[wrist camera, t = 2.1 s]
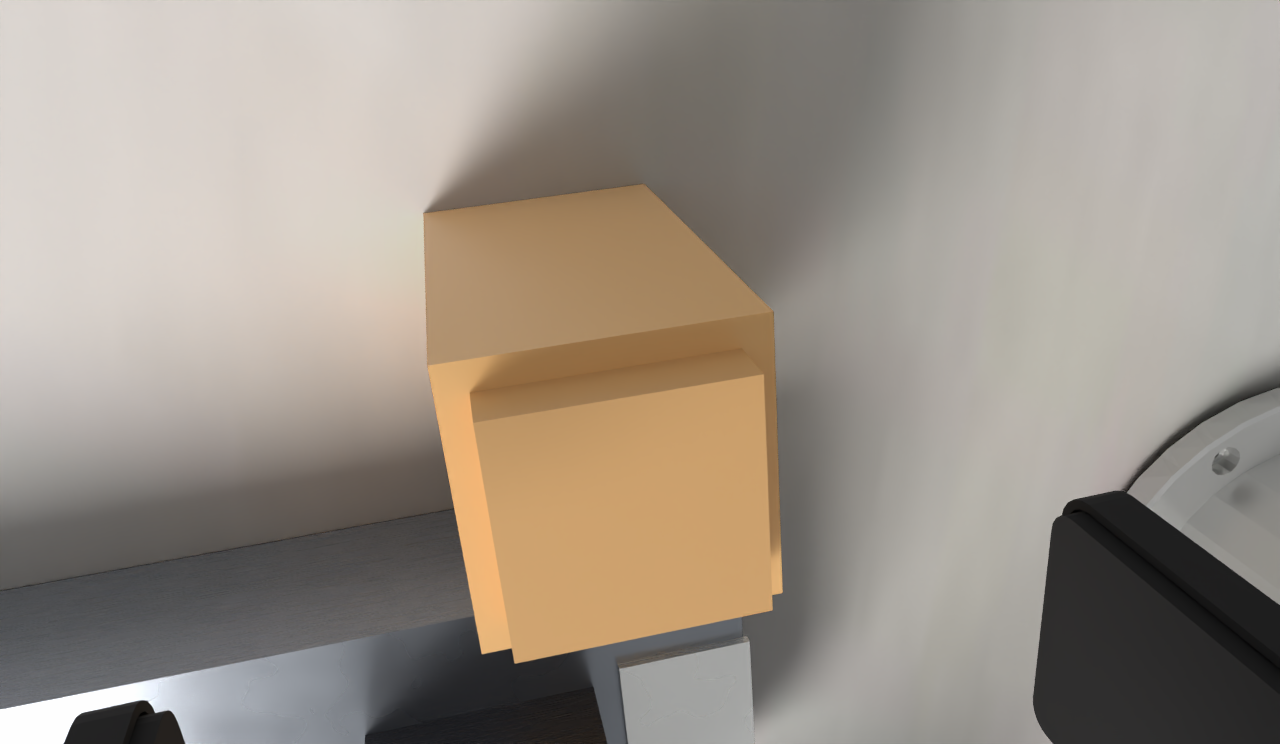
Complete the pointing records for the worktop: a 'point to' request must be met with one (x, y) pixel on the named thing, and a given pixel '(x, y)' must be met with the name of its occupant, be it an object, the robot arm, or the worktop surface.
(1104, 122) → the worktop surface
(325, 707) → the power strip
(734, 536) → the plug
